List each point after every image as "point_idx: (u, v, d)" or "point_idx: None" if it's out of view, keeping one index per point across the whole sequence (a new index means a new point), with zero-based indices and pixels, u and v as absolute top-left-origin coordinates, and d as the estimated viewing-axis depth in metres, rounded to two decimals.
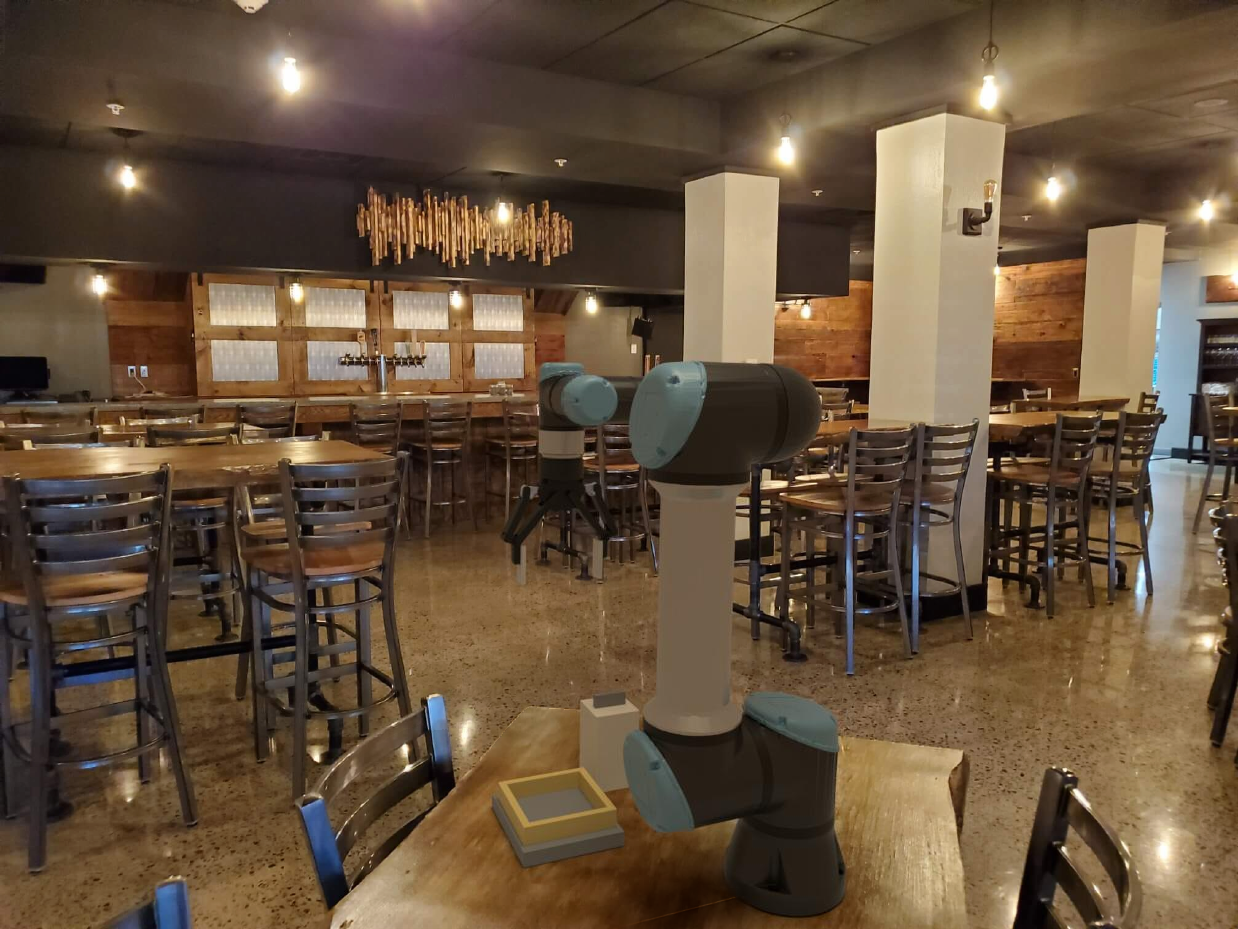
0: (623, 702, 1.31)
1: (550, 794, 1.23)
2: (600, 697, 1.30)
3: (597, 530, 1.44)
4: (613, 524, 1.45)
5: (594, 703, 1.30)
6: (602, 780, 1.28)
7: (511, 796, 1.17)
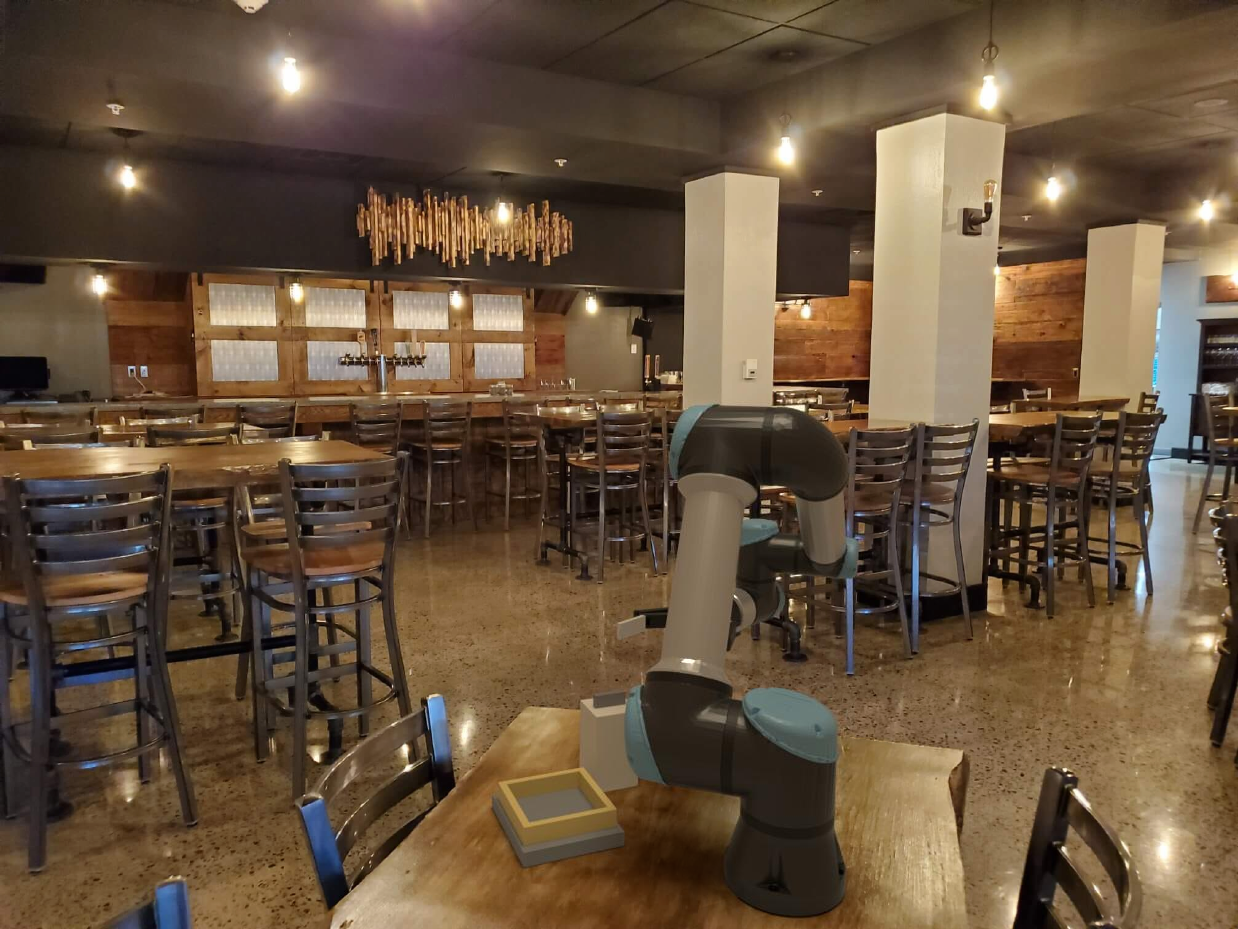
0: (623, 702, 1.31)
1: (550, 794, 1.23)
2: (600, 697, 1.30)
3: None
4: (729, 633, 1.38)
5: (594, 703, 1.30)
6: (602, 780, 1.28)
7: (511, 796, 1.17)
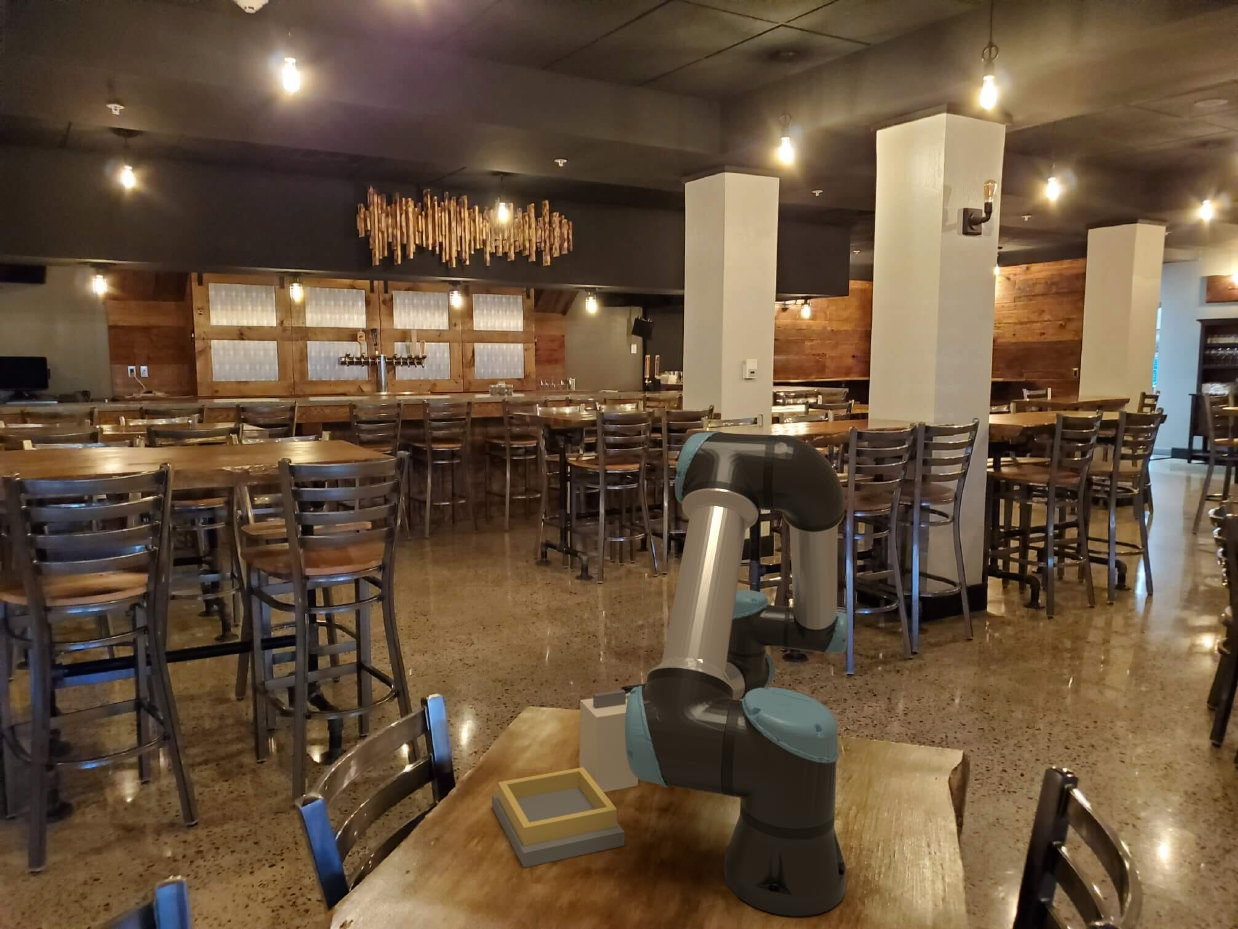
0: (623, 702, 1.31)
1: (550, 794, 1.23)
2: (600, 697, 1.30)
3: None
4: None
5: (594, 703, 1.30)
6: (602, 780, 1.28)
7: (511, 796, 1.17)
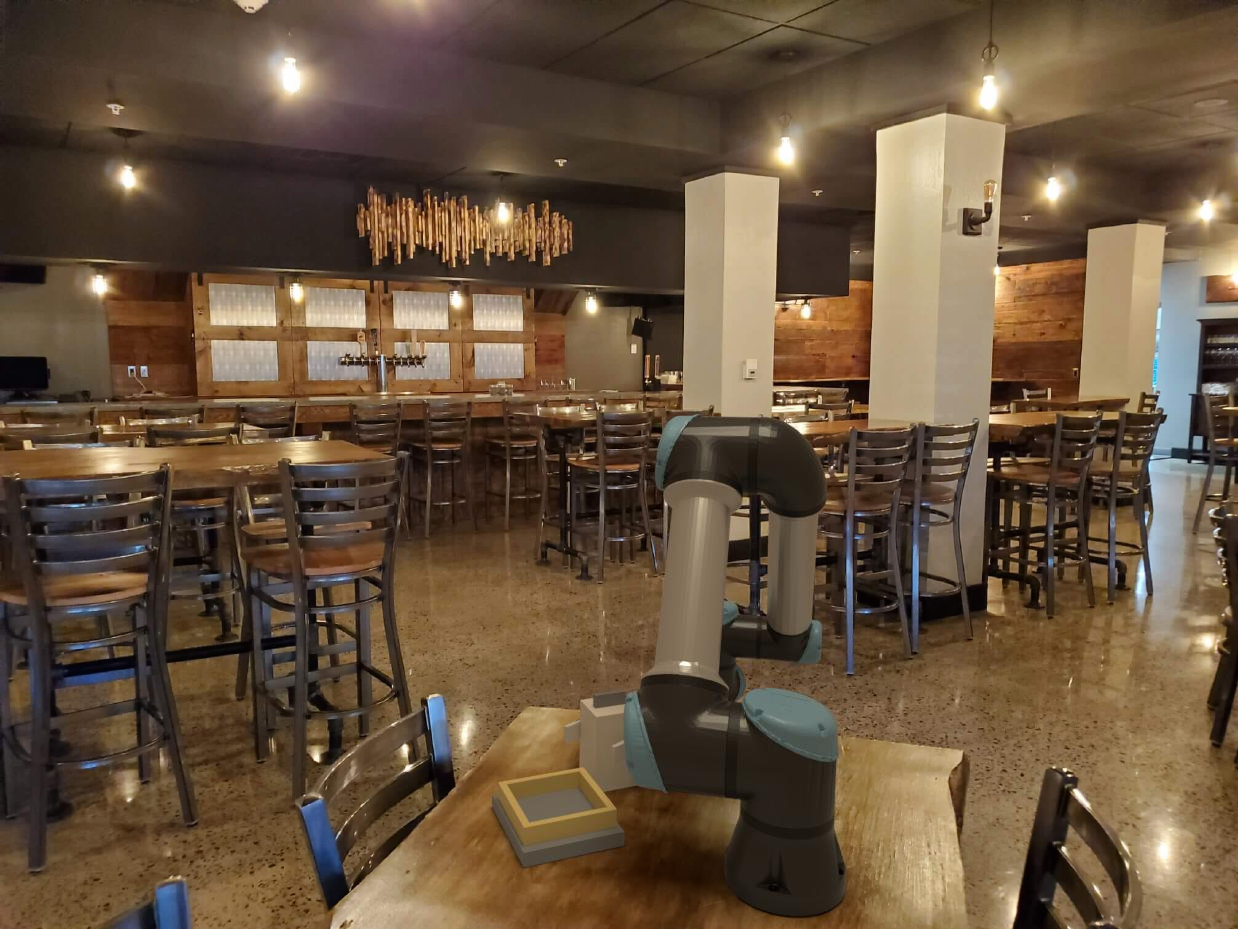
0: (623, 702, 1.31)
1: (550, 794, 1.23)
2: (600, 697, 1.30)
3: None
4: None
5: (594, 703, 1.30)
6: (602, 780, 1.28)
7: (511, 796, 1.17)
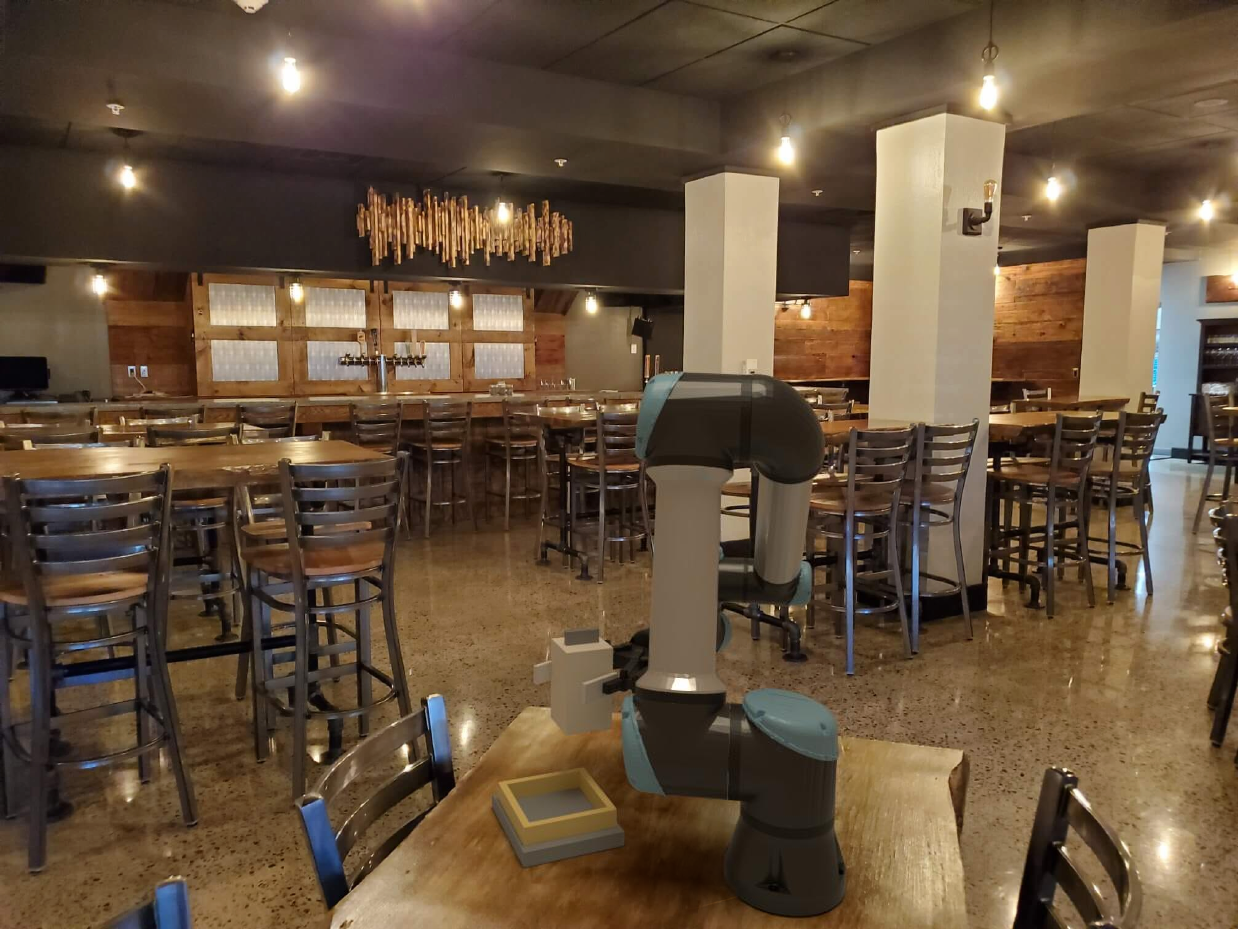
0: (596, 640, 1.23)
1: (550, 794, 1.23)
2: (572, 633, 1.22)
3: None
4: (642, 673, 1.22)
5: (565, 640, 1.22)
6: (573, 722, 1.20)
7: (511, 796, 1.17)
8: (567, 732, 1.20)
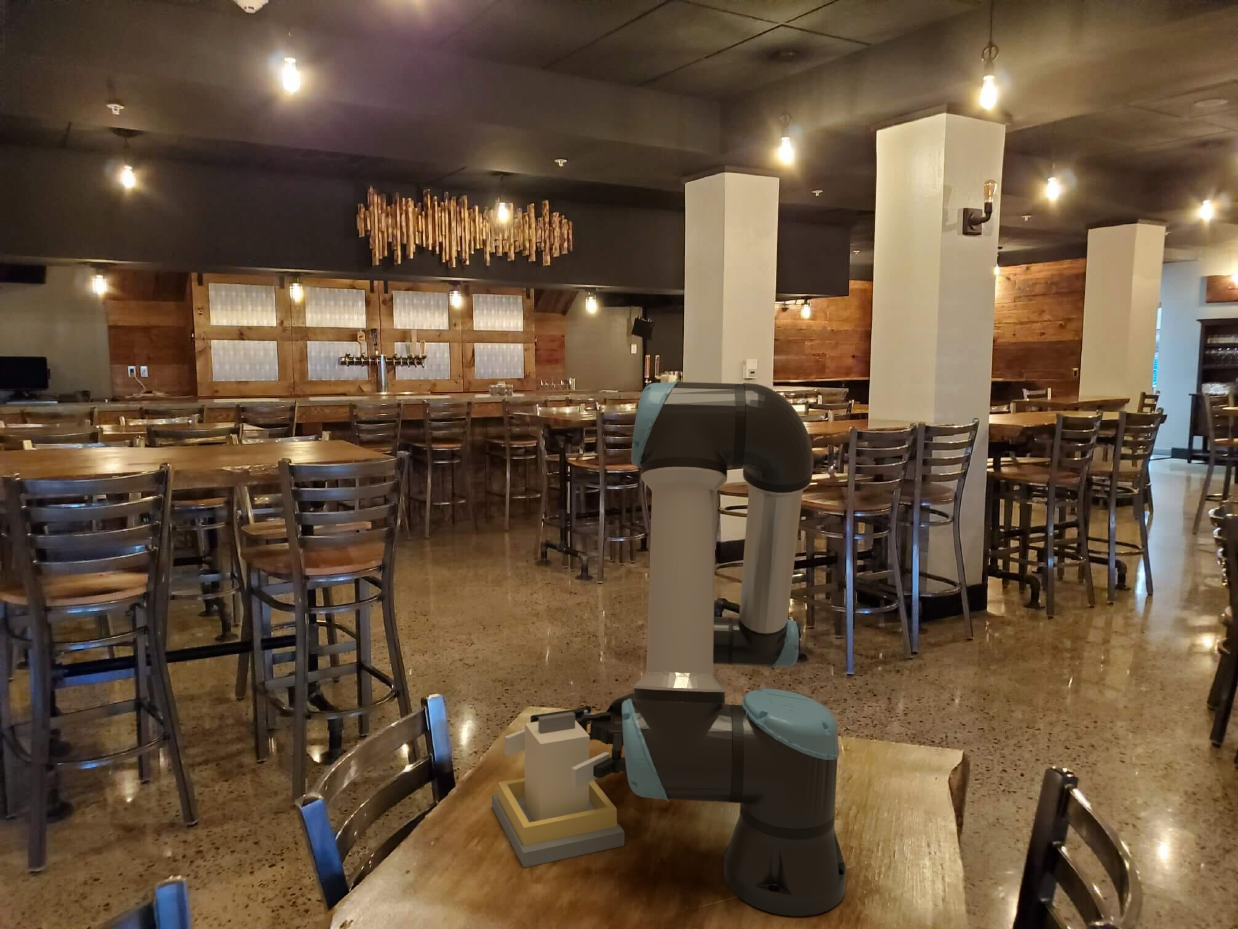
0: (572, 726, 1.17)
1: None
2: (546, 720, 1.16)
3: (613, 748, 1.17)
4: None
5: (539, 727, 1.16)
6: (547, 815, 1.14)
7: (511, 796, 1.17)
8: None
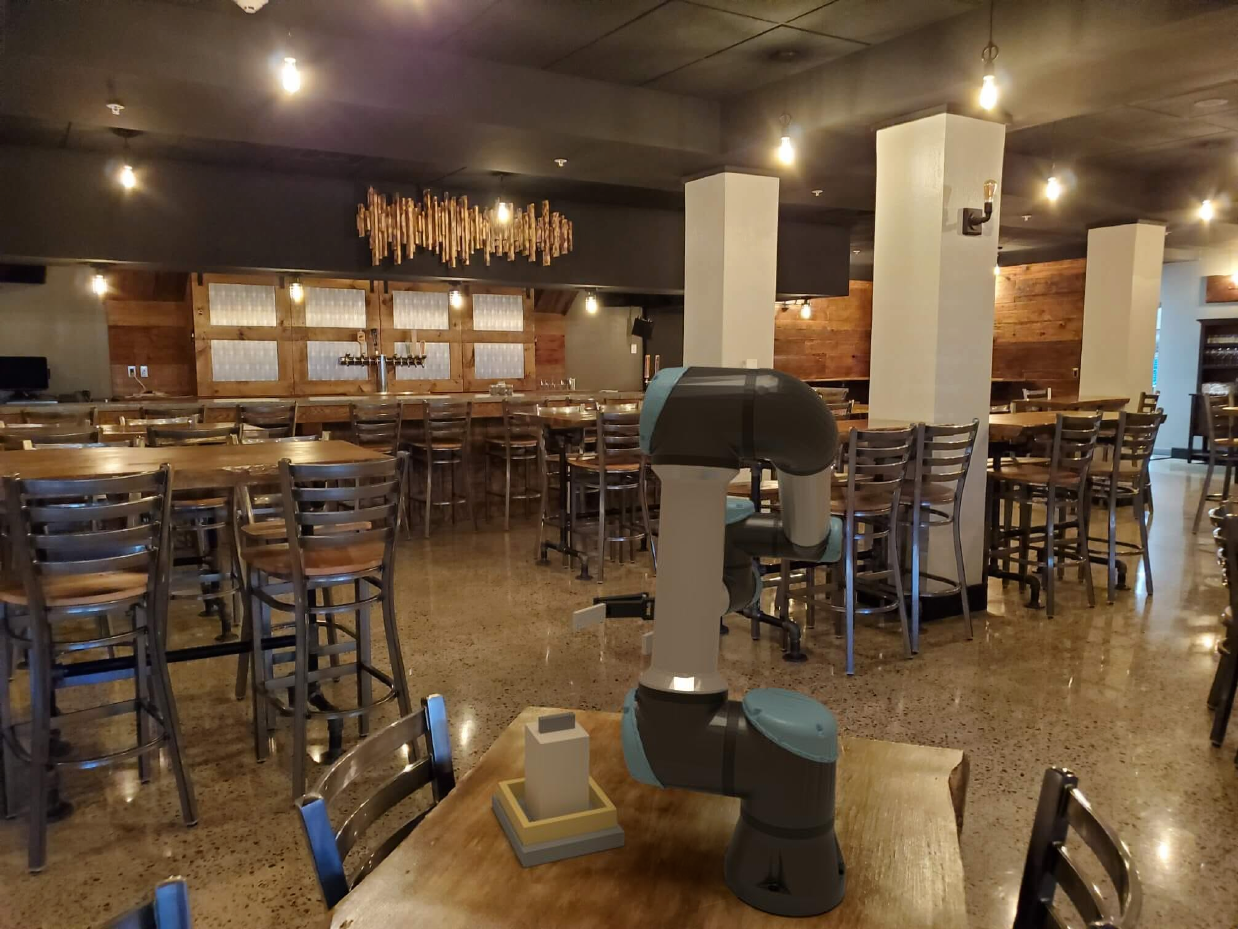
0: (572, 726, 1.17)
1: None
2: (546, 720, 1.16)
3: None
4: None
5: (539, 727, 1.16)
6: (547, 815, 1.14)
7: (511, 796, 1.17)
8: None
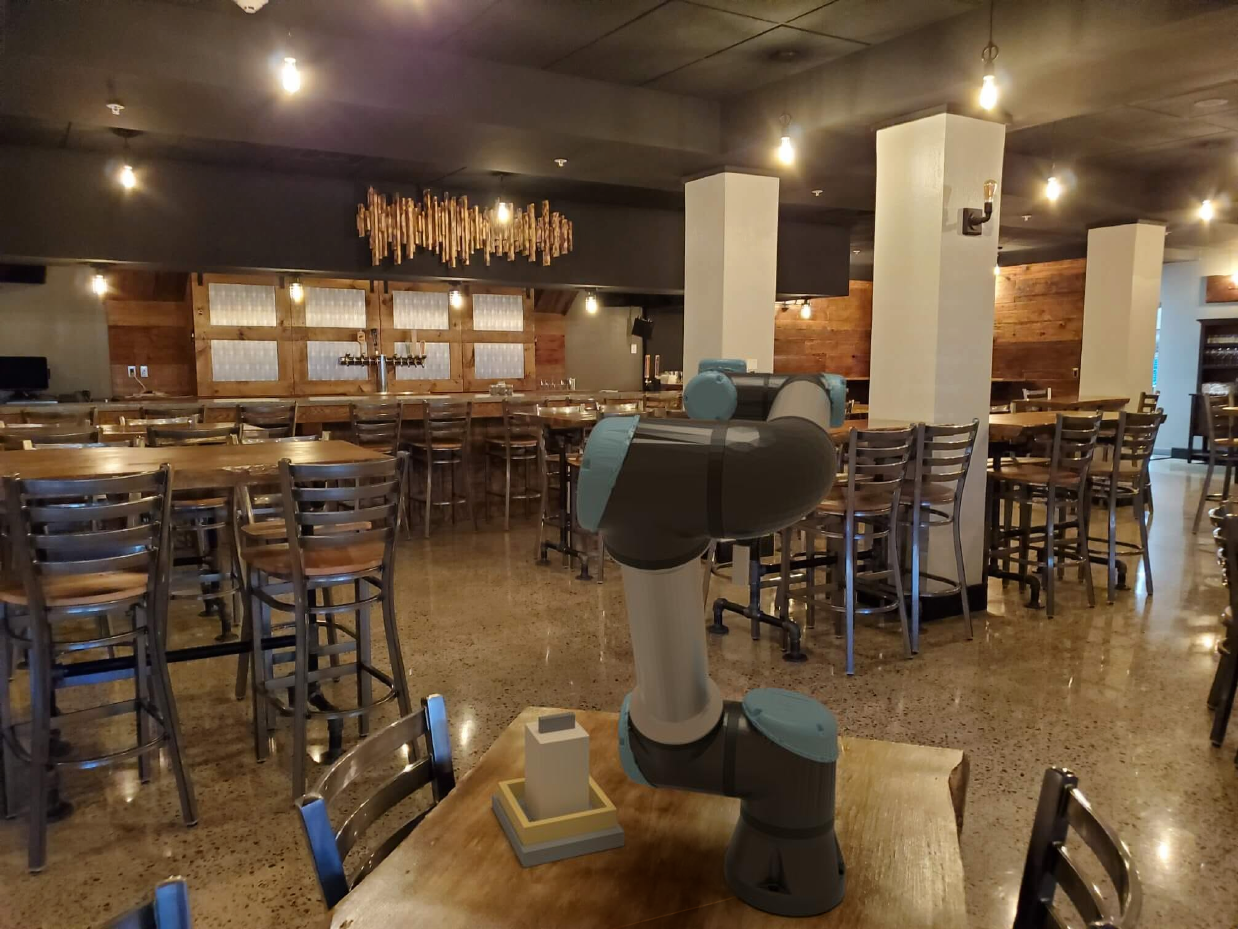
0: (572, 726, 1.17)
1: None
2: (546, 720, 1.16)
3: None
4: None
5: (539, 727, 1.16)
6: (547, 815, 1.14)
7: (511, 796, 1.17)
8: None
